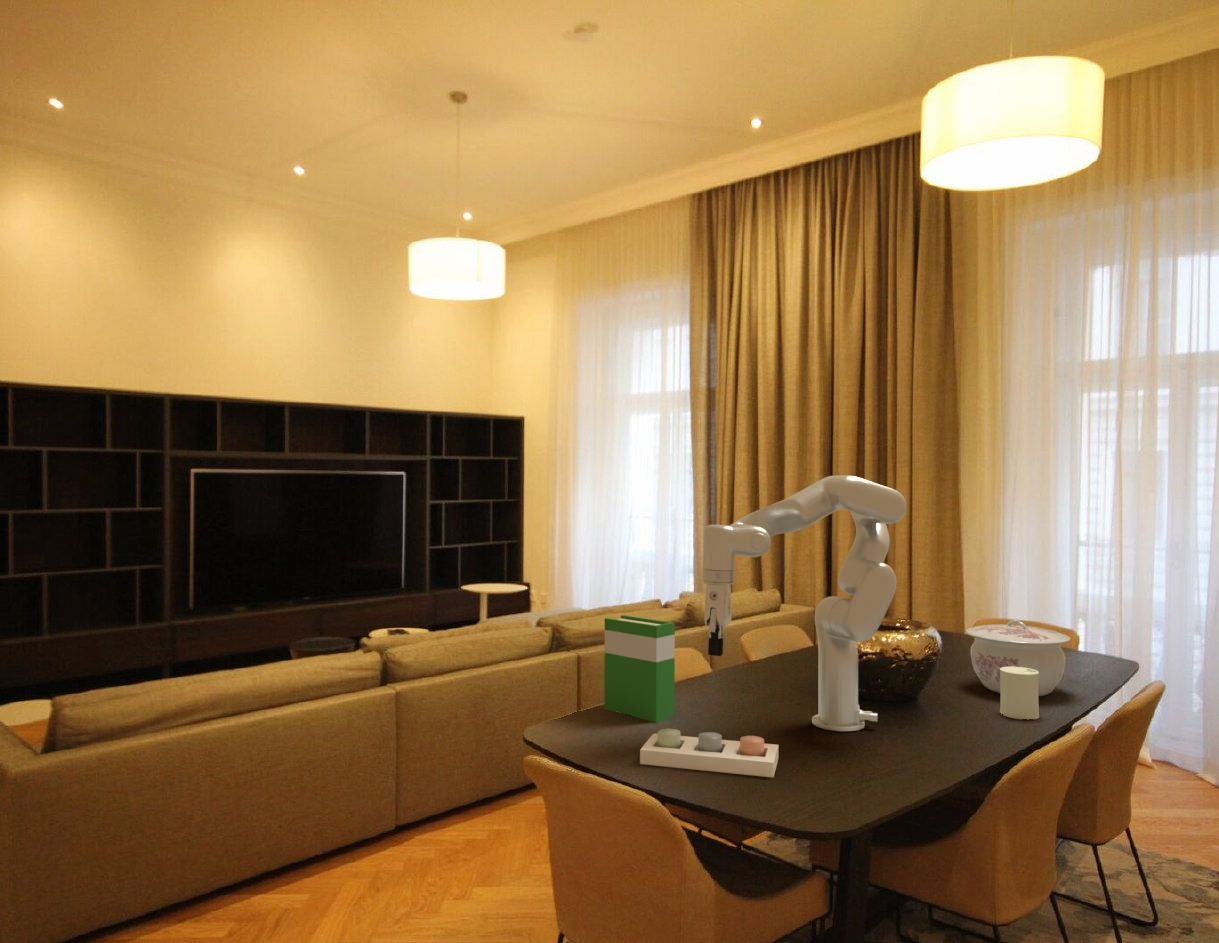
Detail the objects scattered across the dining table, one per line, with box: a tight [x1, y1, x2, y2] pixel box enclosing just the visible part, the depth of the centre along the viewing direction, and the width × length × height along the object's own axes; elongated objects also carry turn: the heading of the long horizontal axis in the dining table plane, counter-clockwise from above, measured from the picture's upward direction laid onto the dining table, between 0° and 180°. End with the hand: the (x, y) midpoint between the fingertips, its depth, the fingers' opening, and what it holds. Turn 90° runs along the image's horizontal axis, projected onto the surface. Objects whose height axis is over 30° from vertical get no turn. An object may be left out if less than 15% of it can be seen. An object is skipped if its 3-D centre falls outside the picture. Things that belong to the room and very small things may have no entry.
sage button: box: [657, 728, 682, 749], centre depth 180 cm, size 5×5×4 cm
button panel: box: [639, 732, 780, 778], centre depth 178 cm, size 28×12×3 cm, turn 74°
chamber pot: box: [964, 619, 1072, 698], centre depth 238 cm, size 28×28×21 cm
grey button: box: [698, 731, 723, 753], centre depth 178 cm, size 5×5×4 cm
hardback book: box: [603, 614, 676, 723], centre depth 215 cm, size 18×7×24 cm, turn 48°
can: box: [999, 667, 1040, 721], centre depth 214 cm, size 9×9×12 cm
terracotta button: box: [739, 735, 765, 757], centre depth 175 cm, size 5×5×4 cm
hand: (715, 654), depth 195 cm, fingers closed
